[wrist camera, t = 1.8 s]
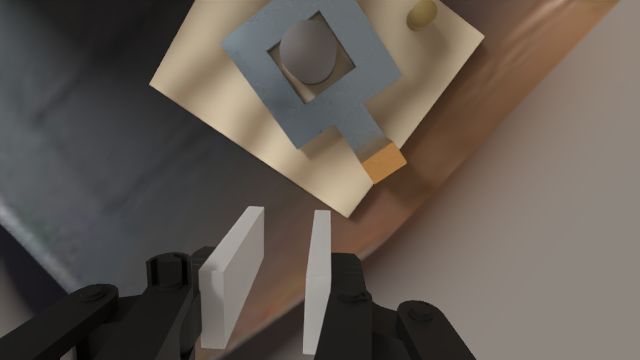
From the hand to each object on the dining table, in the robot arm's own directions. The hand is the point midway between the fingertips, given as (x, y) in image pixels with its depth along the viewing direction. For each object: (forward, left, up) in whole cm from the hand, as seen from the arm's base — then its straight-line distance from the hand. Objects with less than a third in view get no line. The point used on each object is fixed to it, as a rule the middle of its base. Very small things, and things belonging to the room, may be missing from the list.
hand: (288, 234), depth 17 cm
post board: (-5, +8, -17) cm, 19 cm away
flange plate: (-3, +8, -15) cm, 17 cm away
